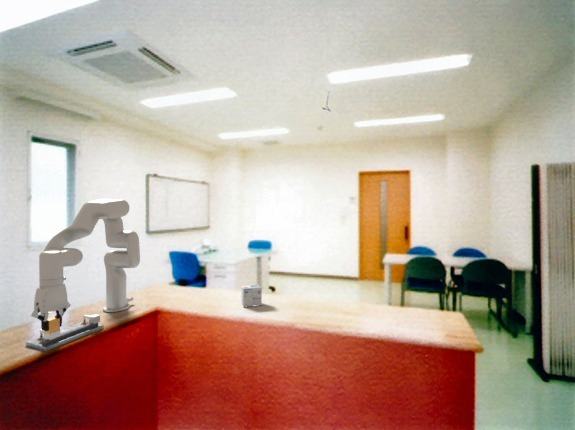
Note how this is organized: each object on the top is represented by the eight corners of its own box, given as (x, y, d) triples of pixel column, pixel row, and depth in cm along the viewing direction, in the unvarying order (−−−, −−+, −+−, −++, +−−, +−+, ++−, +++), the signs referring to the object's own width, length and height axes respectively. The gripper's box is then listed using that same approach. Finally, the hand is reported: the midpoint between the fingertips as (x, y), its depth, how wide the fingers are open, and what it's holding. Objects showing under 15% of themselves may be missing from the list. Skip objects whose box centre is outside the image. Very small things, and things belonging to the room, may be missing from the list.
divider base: (84, 324, 145) (84, 311, 144) (103, 328, 140) (103, 315, 140) (26, 345, 122) (25, 330, 122) (46, 351, 118) (45, 335, 118)
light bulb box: (259, 302, 181) (259, 284, 181) (261, 306, 175) (262, 287, 175) (241, 304, 178) (241, 285, 178) (243, 307, 171) (243, 288, 171)
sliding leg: (46, 335, 127) (45, 315, 127) (60, 338, 124) (60, 318, 124) (35, 339, 123) (35, 318, 123) (49, 342, 120) (49, 321, 120)
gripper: (66, 277, 131) (67, 319, 132) (21, 286, 116) (21, 334, 116) (79, 278, 129) (79, 322, 129) (33, 288, 113) (34, 338, 113)
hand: (51, 327), depth 123 cm, fingers closed on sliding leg, 4 cm apart
